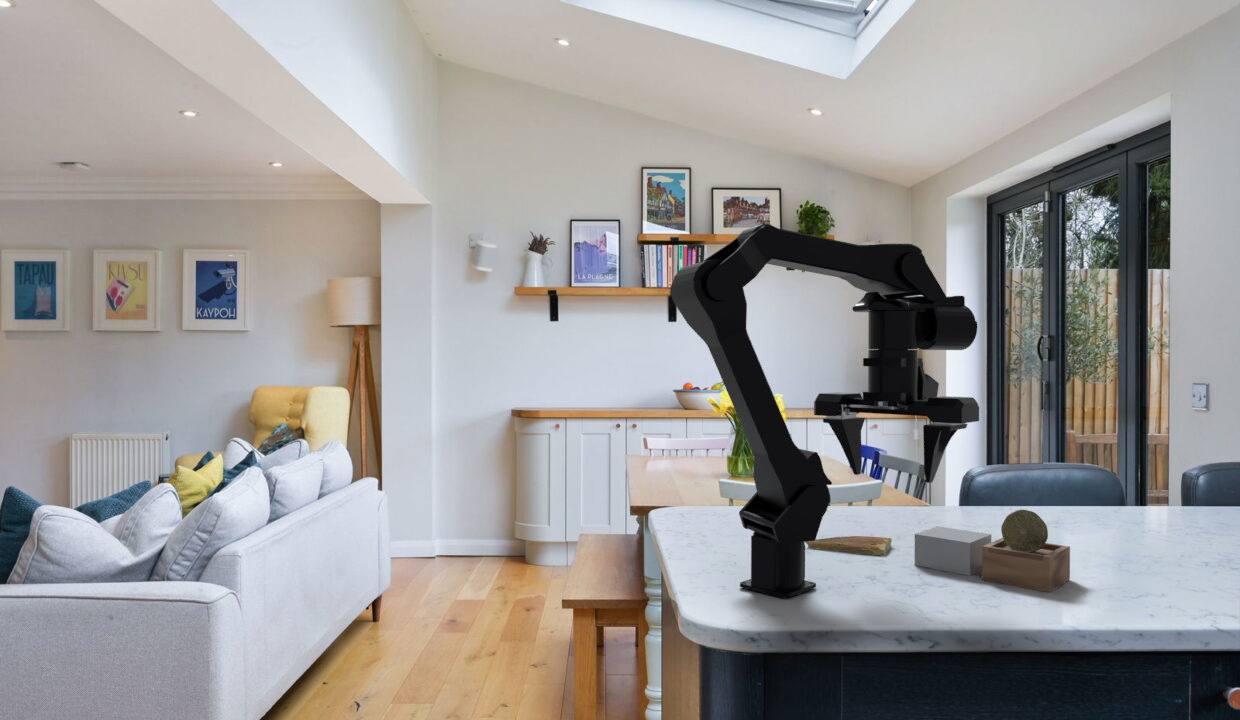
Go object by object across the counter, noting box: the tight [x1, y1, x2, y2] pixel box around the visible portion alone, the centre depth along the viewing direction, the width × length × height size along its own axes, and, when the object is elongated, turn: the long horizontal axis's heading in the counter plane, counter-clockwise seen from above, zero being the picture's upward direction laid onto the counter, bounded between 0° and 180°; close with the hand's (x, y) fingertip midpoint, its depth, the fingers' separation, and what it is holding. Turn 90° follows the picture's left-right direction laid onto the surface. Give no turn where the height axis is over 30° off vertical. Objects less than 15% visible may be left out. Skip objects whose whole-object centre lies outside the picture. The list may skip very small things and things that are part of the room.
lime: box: [1000, 509, 1049, 553], centre depth 98 cm, size 4×5×5 cm
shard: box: [805, 535, 892, 557], centre depth 115 cm, size 11×8×2 cm
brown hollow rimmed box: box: [981, 537, 1071, 593], centre depth 98 cm, size 8×8×4 cm
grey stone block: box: [914, 526, 992, 576], centre depth 104 cm, size 7×7×4 cm
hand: (892, 478), depth 99 cm, fingers open, 9 cm apart
